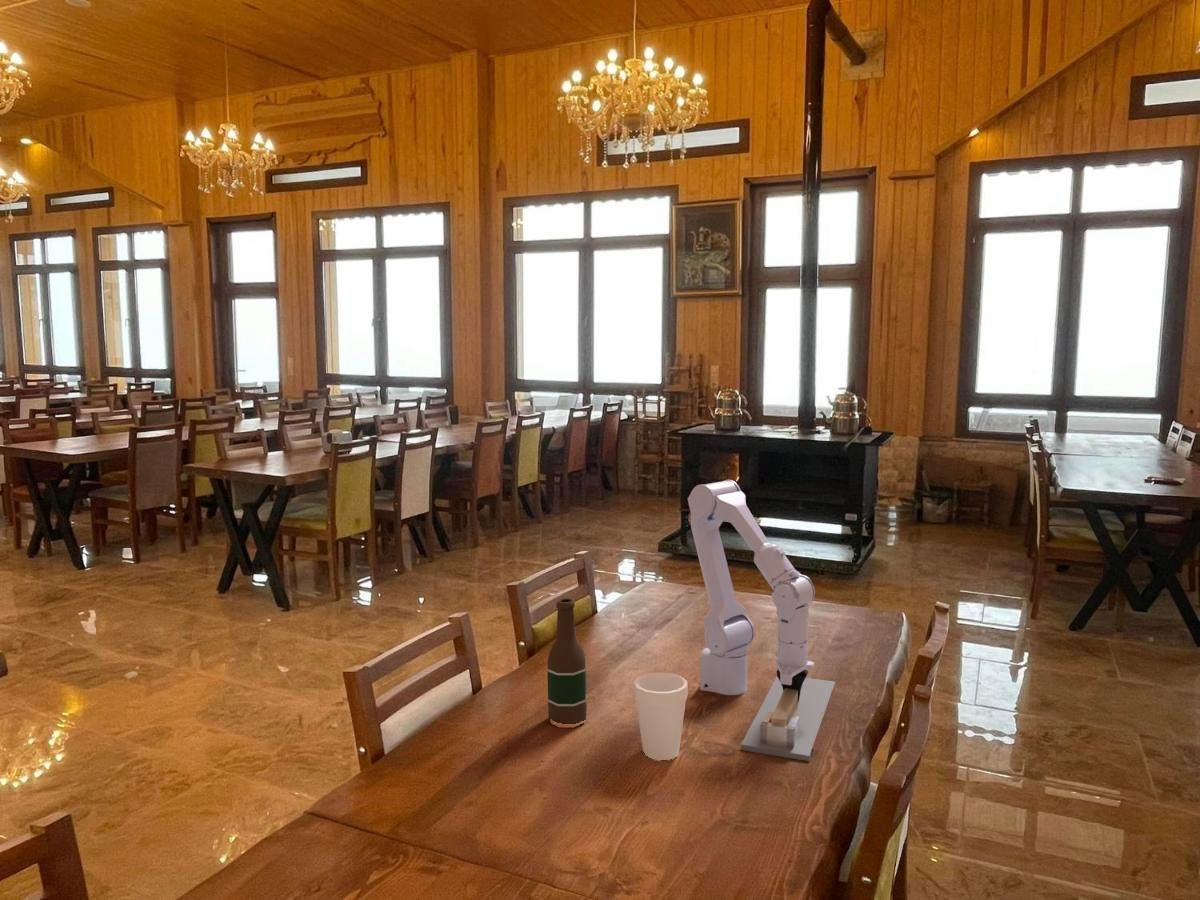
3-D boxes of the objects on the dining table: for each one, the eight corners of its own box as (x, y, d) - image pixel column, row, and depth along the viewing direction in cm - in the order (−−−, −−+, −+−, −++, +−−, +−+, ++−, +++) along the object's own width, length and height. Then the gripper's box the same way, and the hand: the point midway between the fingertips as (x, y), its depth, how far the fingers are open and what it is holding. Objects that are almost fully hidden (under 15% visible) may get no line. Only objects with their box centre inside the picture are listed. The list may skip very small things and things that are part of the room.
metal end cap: (760, 742, 153) (760, 724, 152) (766, 729, 158) (766, 711, 157) (793, 748, 150) (793, 729, 150) (798, 734, 156) (799, 716, 155)
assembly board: (740, 749, 152) (741, 744, 152) (778, 678, 184) (778, 674, 184) (809, 761, 148) (809, 755, 148) (835, 686, 180) (835, 681, 180)
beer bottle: (594, 715, 167) (592, 597, 164) (576, 732, 160) (574, 608, 157) (559, 709, 170) (556, 592, 167) (540, 725, 163) (537, 603, 160)
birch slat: (771, 741, 153) (771, 717, 152) (784, 710, 166) (784, 688, 165) (785, 743, 152) (785, 719, 152) (797, 712, 165) (797, 689, 164)
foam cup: (651, 770, 145) (651, 697, 144) (625, 747, 154) (624, 678, 152) (698, 757, 150) (698, 686, 148) (669, 736, 158) (669, 668, 156)
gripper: (808, 654, 156) (806, 725, 158) (819, 629, 169) (818, 694, 171) (769, 649, 159) (768, 719, 160) (783, 625, 172) (782, 689, 174)
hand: (791, 706), depth 166 cm, fingers closed, pressing on birch slat
